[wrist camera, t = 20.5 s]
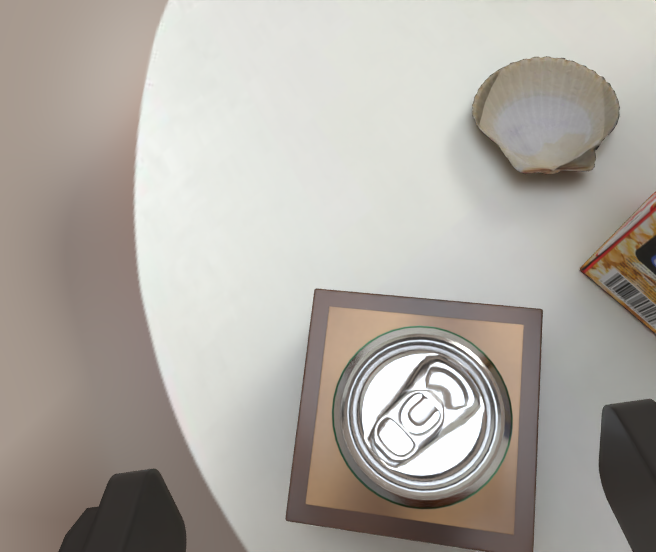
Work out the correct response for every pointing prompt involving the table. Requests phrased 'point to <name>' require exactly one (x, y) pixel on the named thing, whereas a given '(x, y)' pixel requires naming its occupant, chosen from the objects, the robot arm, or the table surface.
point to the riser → (348, 492)
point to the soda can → (422, 417)
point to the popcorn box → (630, 264)
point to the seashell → (546, 114)
